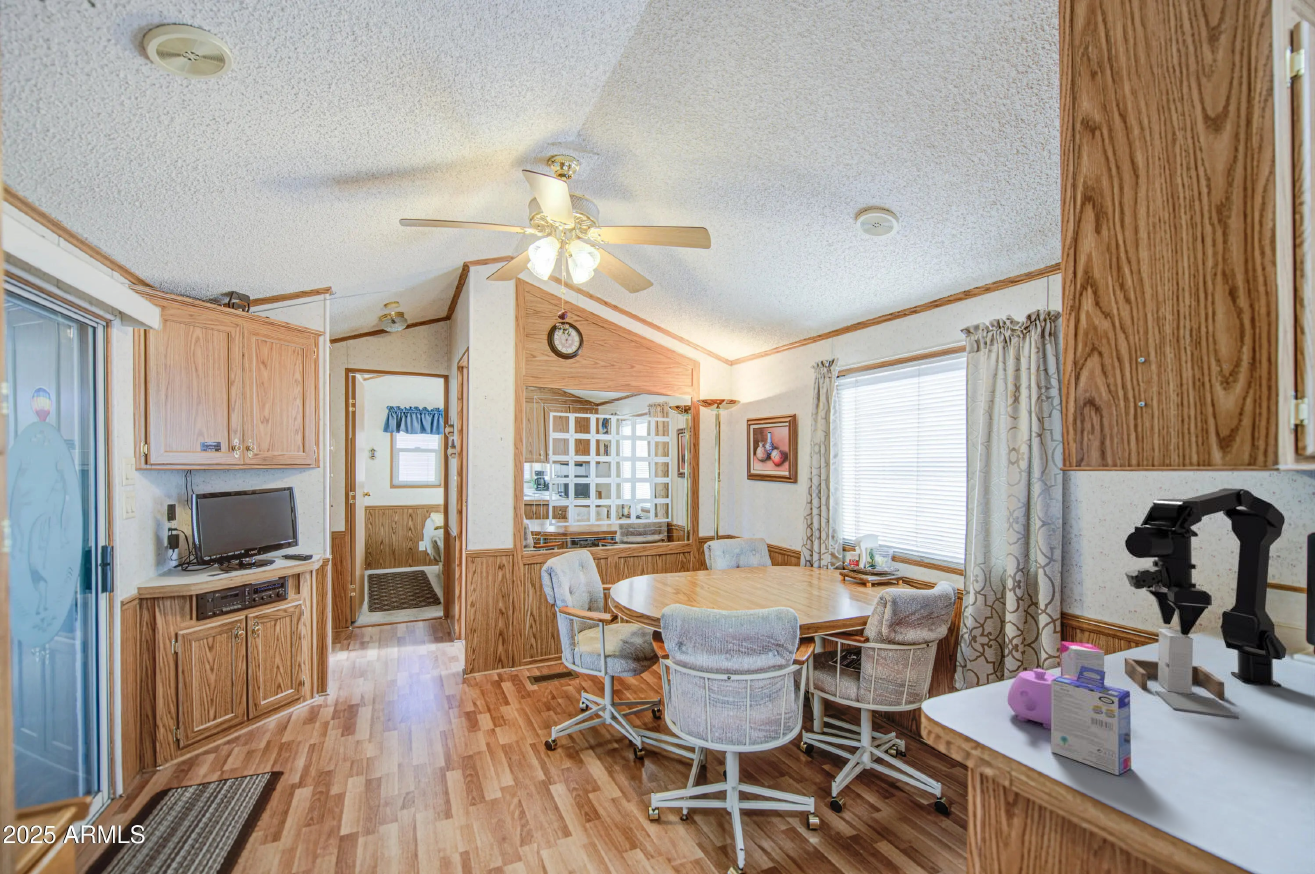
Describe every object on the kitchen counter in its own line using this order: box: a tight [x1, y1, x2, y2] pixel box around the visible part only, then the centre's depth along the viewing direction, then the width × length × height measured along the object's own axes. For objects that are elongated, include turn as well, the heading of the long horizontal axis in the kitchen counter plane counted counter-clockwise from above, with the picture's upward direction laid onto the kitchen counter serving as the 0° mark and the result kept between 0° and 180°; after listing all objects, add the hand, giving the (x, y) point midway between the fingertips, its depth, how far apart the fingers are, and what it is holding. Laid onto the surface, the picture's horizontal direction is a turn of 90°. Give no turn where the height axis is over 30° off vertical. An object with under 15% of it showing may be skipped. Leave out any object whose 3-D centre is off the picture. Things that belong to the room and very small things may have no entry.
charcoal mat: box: [1154, 690, 1240, 719], centre depth 123 cm, size 10×10×1 cm
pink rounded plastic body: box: [1006, 668, 1058, 730], centre depth 114 cm, size 10×15×9 cm
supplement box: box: [1060, 641, 1105, 679], centre depth 123 cm, size 6×6×12 cm
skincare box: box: [1157, 628, 1194, 695], centre depth 132 cm, size 6×4×12 cm
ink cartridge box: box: [1050, 666, 1132, 776], centre depth 99 cm, size 10×6×14 cm, turn 36°
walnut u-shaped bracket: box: [1124, 657, 1226, 701], centre depth 133 cm, size 11×14×4 cm
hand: (1175, 629), depth 132 cm, fingers open, 9 cm apart
